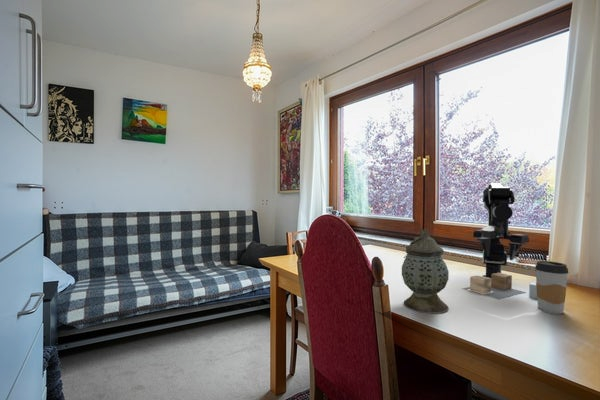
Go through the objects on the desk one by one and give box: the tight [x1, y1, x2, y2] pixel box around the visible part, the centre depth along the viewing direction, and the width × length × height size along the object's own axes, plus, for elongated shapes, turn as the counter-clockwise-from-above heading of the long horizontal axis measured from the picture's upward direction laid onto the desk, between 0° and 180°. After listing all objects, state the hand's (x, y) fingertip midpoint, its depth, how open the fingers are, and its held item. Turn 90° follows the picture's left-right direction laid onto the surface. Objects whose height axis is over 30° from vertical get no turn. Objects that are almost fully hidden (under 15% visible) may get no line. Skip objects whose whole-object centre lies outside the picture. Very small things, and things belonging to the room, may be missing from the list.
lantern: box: [401, 229, 450, 315], centre depth 101 cm, size 14×14×25 cm
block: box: [528, 281, 537, 299], centre depth 111 cm, size 5×5×5 cm
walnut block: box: [491, 272, 513, 290], centre depth 122 cm, size 5×5×5 cm
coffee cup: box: [534, 260, 569, 315], centre depth 99 cm, size 8×8×15 cm
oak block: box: [469, 274, 491, 293], centre depth 118 cm, size 5×5×5 cm
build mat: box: [461, 286, 527, 300], centre depth 118 cm, size 18×14×1 cm
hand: (498, 258), depth 123 cm, fingers open, 9 cm apart
